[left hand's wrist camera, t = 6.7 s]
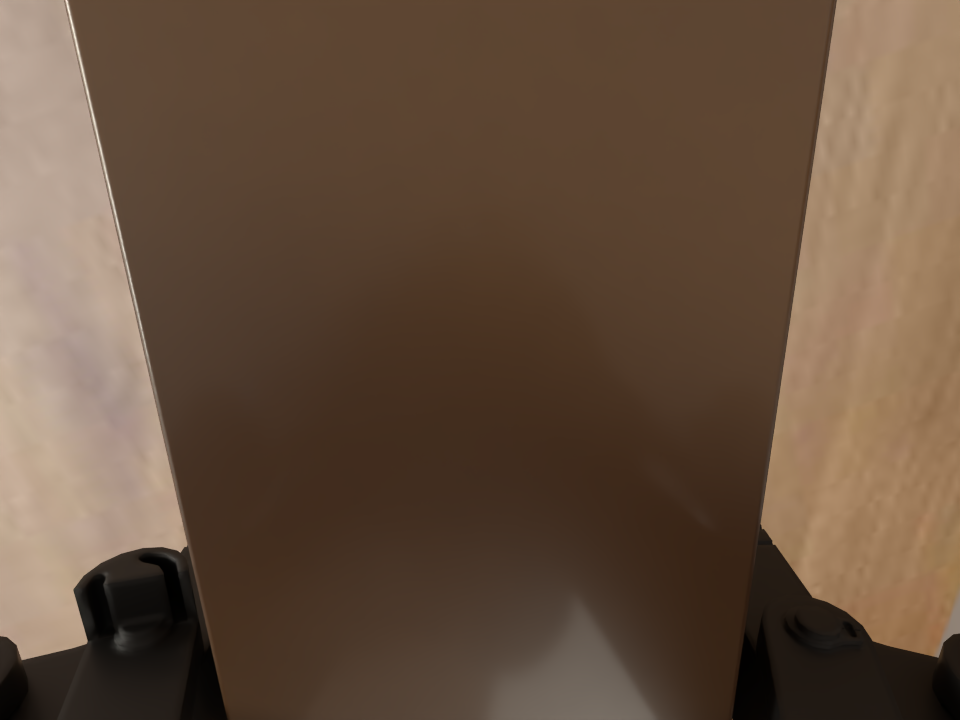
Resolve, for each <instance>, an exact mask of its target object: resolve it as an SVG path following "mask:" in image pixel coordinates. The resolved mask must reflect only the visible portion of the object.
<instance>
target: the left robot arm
mask: <svg viewBox="0 0 960 720" xmlns="http://www.w3.org/2000/svg"><path fill="white" fill-rule="evenodd" d="M74 594H75V597H76V601H77V604H78V608H79V611H80V615H81V618H82V622H83V625H84V629H85V632H86V636H87V639H88V642H87V644H85V645H82V646H79V647H76V648H72V649H68V650H64V651H60V652H55V653H51V654H47V655H43V656H38V657H34V658H30V659H26V660H21V657H20V654H19V651H18V648H17V645H16V644H14V643H13V642H12V641H11V640H10V639H8V638H7V637H1V636H0V720H227V715H226V711H225V706H224V702H223V698H222V693H221V689H220V684H219V680H218V676H217V671H216V667H215V662H214V658H213V654H212V649H211V645H210V640H209V636H208V632H207V627H206V623H205V618H204V614H203V610H202V605H201V601H200V596H199V592H198V588H197V583H196V579H195V574H194V570H193V566H192V561H191V557H190V552H189V548H188V545H187V547H184V549H183V550H182V552H181V553H180V552H178V551H176V550H172V549H168V548H164V547H157V548H142V549H138V550H134V551H130V552H126V553H123V554H120V555H118V556H116V557H114V558H111V559H109V560H107V561H105V562H103V563H101V564H99V565H98V566H97V567H95V568H94V569H93V570H91V571H90V572H89V573H87V574H86V575H84V576H83V578H82V579H81V580H80V582H79V583H78V584H77V586H76V587H75V588H74ZM732 719H733V720H960V634H954V635H952V636H951V637H950V638H949V639H947V640H946V641H945V642H944V643H943V646H942V649H941V652H940V655H939V658H937V657H933V656H928V655H924V654H920V653H916V652H911V651H907V650H903V649H898V648H894V647H890V646H886V645H883V644H880V643H876V642H873V641H872V640H871V638H870V636H869V635H868V633H867V632H866V630H865V629H864V627H863V626H862V625H861V624H860V623H859V622H857V621H856V620H855V619H854V618H853V617H851V616H850V615H849V614H848V613H847V612H845V611H843V610H841V609H839V608H837V607H835V606H834V605H832V604H830V603H828V602H825V601H822V600H818V599H815V598H812V596H811V595H810V593H809V592H808V591H807V589H806V588H805V586H804V585H803V584H802V582H801V581H800V579H799V578H798V576H797V575H796V574H795V572H794V571H793V569H792V568H791V567H790V565H789V564H788V562H787V561H786V560H785V558H784V557H783V555H782V554H781V553H780V551H779V550H778V548H777V547H776V545H773V544H772V540H771V538H770V537H769V536H768V534H767V533H766V531H765V530H764V529H762V528H761V524H760V530H759V536H758V543H757V550H756V557H755V564H754V571H753V578H752V584H751V591H750V598H749V605H748V612H747V619H746V626H745V632H744V639H743V646H742V653H741V660H740V667H739V674H738V680H737V687H736V694H735V701H734V708H733V715H732Z"/></svg>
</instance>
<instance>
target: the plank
mask: <svg viewBox="0 0 960 720" xmlns="http://www.w3.org/2000/svg"><path fill="white" fill-rule="evenodd" d="M64 2H65V6H66V11H67V15H68V20H69V24H70V28H71V33H72V37H73V42H74V46H75V50H76V55H77V59H78V64H79V68H80V72H81V77H82V81H83V86H84V90H85V94H86V99H87V103H88V108H89V112H90V116H91V121H92V125H93V130H94V134H95V139H96V143H97V147H98V152H99V156H100V161H101V165H102V169H103V174H104V178H105V183H106V187H107V191H108V196H109V200H110V205H111V209H112V213H113V218H114V222H115V227H116V231H117V235H118V240H119V244H120V249H121V253H122V257H123V262H124V266H125V271H126V275H127V279H128V284H129V288H130V293H131V297H132V301H133V306H134V310H135V315H136V319H137V323H138V328H139V332H140V337H141V341H142V345H143V350H144V354H145V359H146V363H147V367H148V372H149V376H150V381H151V385H152V389H153V394H154V398H155V403H156V407H157V411H158V416H159V420H160V425H161V429H162V433H163V438H164V442H165V447H166V451H167V455H168V460H169V464H170V469H171V473H172V478H173V482H174V486H175V491H176V495H177V500H178V504H179V508H180V513H181V517H182V522H183V526H184V530H185V535H186V539H187V544H188V548H189V552H190V557H191V561H192V566H193V570H194V574H195V579H196V583H197V588H198V592H199V596H200V601H201V605H202V610H203V614H204V618H205V623H206V627H207V632H208V636H209V640H210V645H211V649H212V654H213V658H214V662H215V667H216V671H217V676H218V680H219V684H220V689H221V693H222V698H223V702H224V706H225V711H226V715H227V720H732V715H733V708H734V701H735V694H736V687H737V680H738V674H739V667H740V660H741V653H742V646H743V639H744V632H745V626H746V619H747V612H748V605H749V598H750V591H751V584H752V578H753V571H754V564H755V557H756V550H757V543H758V536H759V530H760V523H761V516H762V509H763V502H764V495H765V488H766V482H767V475H768V468H769V461H770V454H771V447H772V440H773V434H774V427H775V420H776V413H777V406H778V399H779V392H780V386H781V379H782V372H783V365H784V358H785V351H786V344H787V338H788V331H789V324H790V317H791V310H792V303H793V296H794V290H795V283H796V276H797V269H798V262H799V255H800V248H801V242H802V235H803V228H804V221H805V214H806V207H807V200H808V194H809V187H810V180H811V173H812V166H813V159H814V152H815V146H816V139H817V132H818V125H819V118H820V111H821V104H822V98H823V91H824V84H825V77H826V70H827V63H828V56H829V50H830V43H831V36H832V29H833V22H834V15H835V8H836V2H837V0H64Z"/></svg>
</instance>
